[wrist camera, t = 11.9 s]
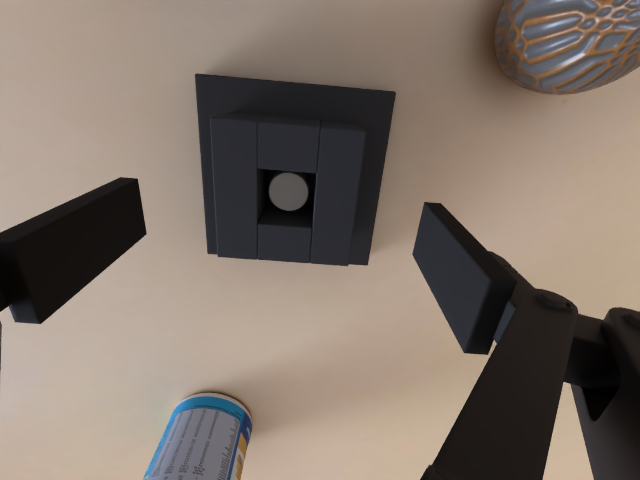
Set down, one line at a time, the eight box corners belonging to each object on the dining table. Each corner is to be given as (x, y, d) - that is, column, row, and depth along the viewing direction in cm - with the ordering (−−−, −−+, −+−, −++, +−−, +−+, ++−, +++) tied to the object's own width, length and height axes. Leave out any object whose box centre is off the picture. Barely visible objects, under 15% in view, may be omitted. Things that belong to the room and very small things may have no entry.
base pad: (202, 74, 21) (177, 71, 17) (391, 91, 21) (406, 92, 17) (213, 245, 26) (195, 271, 22) (365, 256, 26) (372, 283, 22)
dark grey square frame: (229, 112, 20) (209, 117, 17) (358, 123, 20) (366, 130, 17) (233, 231, 24) (217, 257, 20) (344, 239, 24) (348, 266, 20)
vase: (492, 113, 22) (592, 128, 14) (462, -2, 19) (565, -66, 11) (603, 59, 20) (786, 42, 12) (588, -71, 18) (808, -201, 10)
